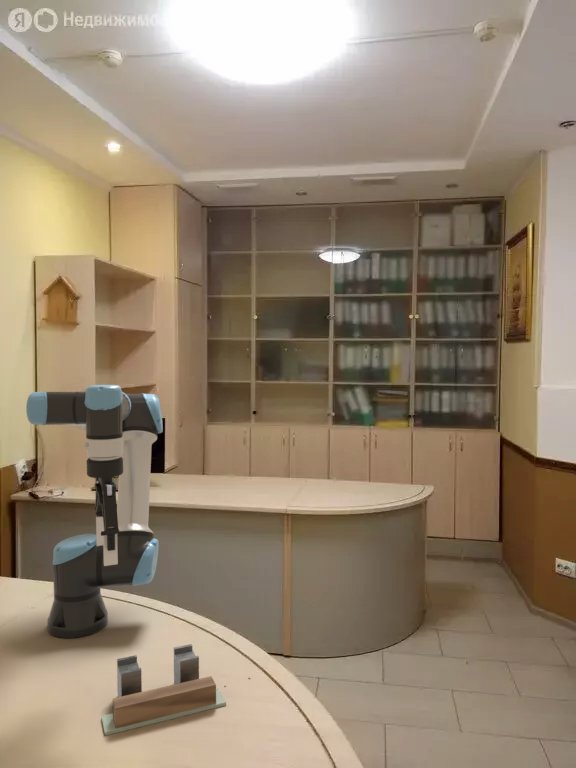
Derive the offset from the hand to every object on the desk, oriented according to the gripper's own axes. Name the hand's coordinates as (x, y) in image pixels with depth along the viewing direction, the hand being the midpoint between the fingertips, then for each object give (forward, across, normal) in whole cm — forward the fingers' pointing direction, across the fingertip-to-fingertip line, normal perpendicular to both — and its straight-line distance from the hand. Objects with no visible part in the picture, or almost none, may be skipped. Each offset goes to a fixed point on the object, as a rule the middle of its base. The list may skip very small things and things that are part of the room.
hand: (106, 554), depth 129 cm
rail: (+28, +16, +9) cm, 34 cm away
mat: (+29, +16, +9) cm, 34 cm away
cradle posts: (+29, +9, +9) cm, 31 cm away
